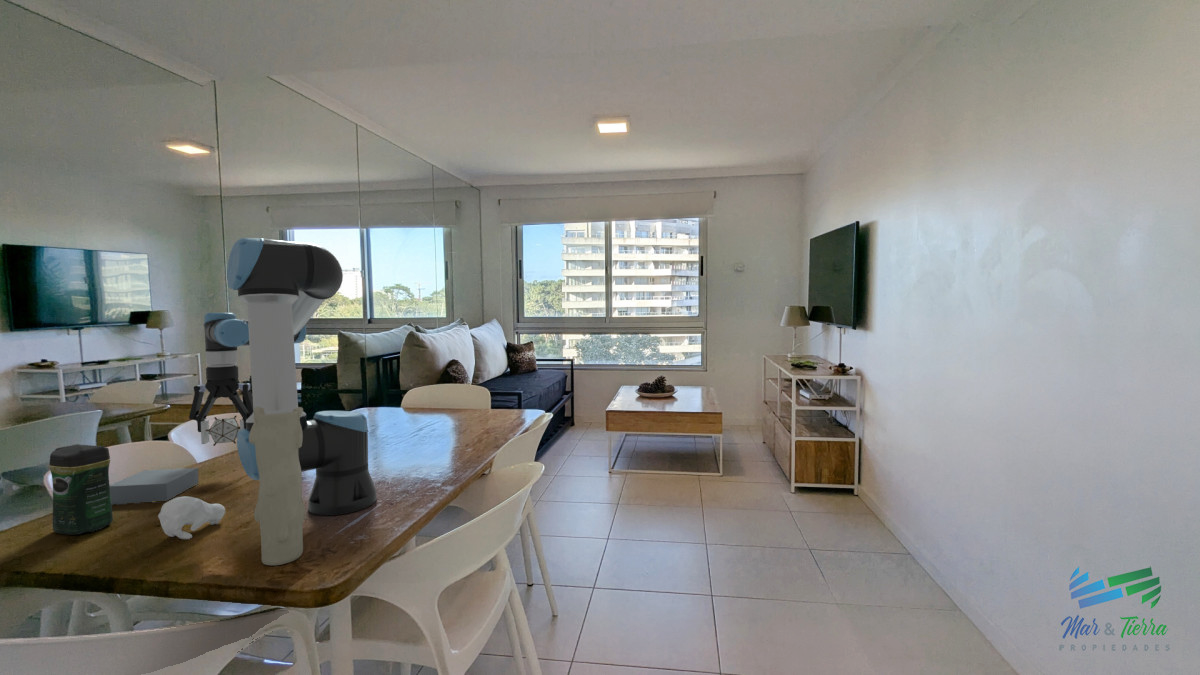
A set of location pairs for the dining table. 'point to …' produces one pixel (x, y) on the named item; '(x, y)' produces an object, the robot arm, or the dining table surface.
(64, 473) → the coffee jar
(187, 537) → the white animal figurine
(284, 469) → the vase
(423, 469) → the dining table surface
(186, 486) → the grey square block
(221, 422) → the game die
